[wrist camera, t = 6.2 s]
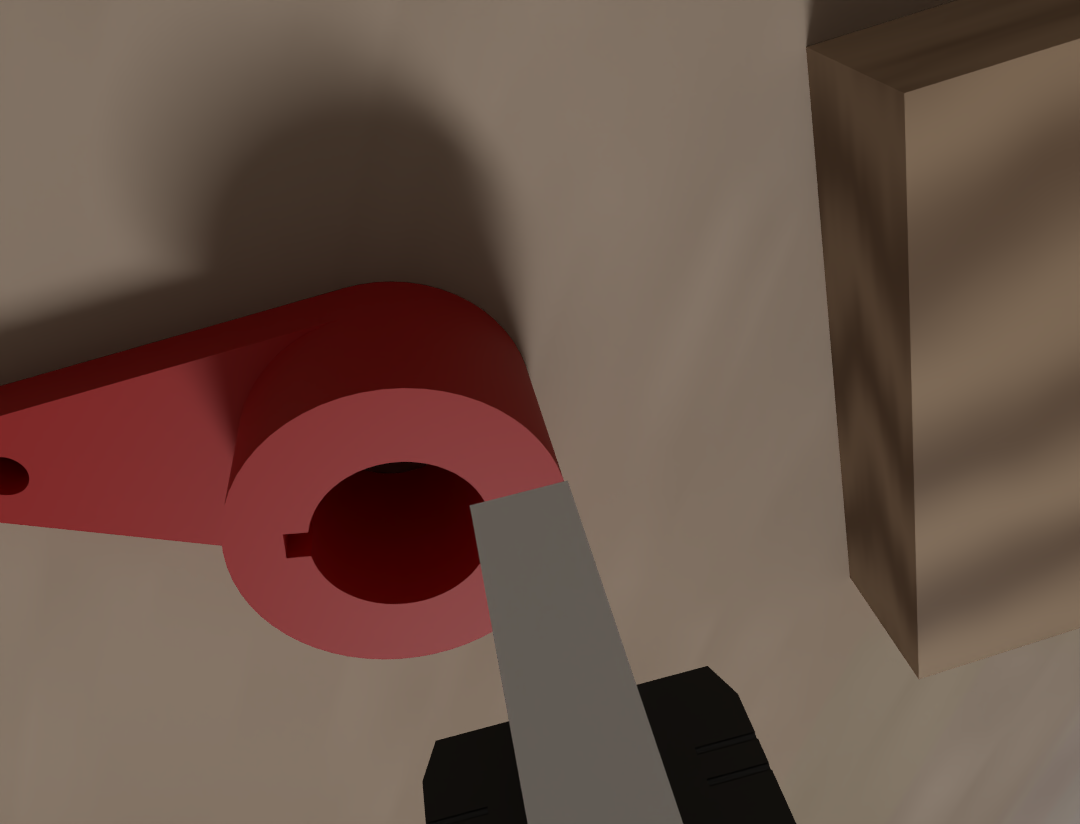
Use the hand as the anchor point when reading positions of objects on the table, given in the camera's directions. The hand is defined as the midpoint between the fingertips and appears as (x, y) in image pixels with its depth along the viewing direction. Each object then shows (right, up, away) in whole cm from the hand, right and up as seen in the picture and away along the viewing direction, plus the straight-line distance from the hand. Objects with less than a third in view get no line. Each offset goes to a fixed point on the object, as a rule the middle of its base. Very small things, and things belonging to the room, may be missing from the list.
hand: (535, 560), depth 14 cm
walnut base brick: (+17, +6, +19) cm, 26 cm away
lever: (-9, +2, +16) cm, 19 cm away
